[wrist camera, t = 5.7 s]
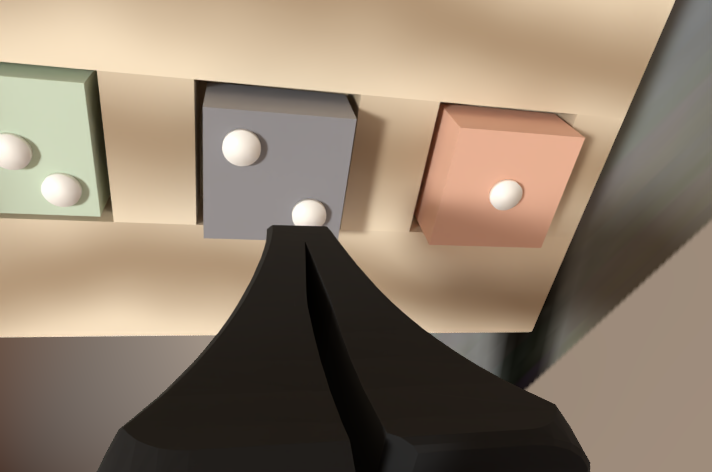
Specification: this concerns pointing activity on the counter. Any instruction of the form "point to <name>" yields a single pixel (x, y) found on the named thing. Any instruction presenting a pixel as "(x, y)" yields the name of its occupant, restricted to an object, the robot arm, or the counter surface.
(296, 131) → the charcoal tile
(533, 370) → the counter surface
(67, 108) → the sage tile
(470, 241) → the terracotta tile
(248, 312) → the robot arm
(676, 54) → the counter surface
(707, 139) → the counter surface
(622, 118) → the tile panel
